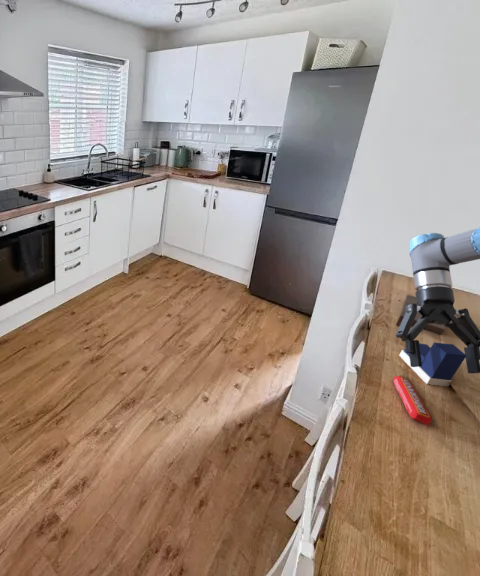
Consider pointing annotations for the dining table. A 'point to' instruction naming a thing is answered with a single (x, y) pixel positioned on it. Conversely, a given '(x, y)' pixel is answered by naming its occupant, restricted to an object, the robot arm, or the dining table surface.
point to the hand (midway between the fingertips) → (445, 369)
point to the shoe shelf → (429, 327)
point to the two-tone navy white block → (437, 363)
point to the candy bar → (412, 400)
